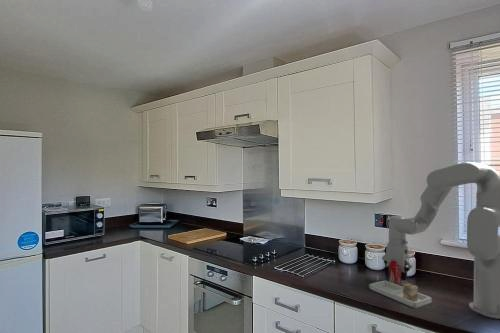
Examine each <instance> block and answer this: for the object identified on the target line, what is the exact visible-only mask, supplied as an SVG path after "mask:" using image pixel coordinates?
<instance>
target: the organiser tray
mask: <svg viewBox="0 0 500 333" xmlns="http://www.w3.org/2000/svg"><path fill="white" fill-rule="evenodd" d="M368 289H369V290H372V291H373V292H376V293H379V294H381V295H383V296H386V297H388V298H391V299H393V300H395V301H397V302H399V303H402V304H404V305H407V306H410V307H411V308H414V309H416V308H420V307H423V306H425V305H428V304H431V303H433V302H432V301H433V298H432V297H431V296H429V295H425V294H422V293H420V292H418V301H415V302H413V301H410V300H408V299H406V298H403V285H397V284H394V283H391V282H390V281H389V280H387V279H385V280H381V281H376V282H372V283H369V284H368Z"/></svg>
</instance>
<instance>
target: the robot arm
mask: <svg viewBox="0 0 500 333" xmlns="http://www.w3.org/2000/svg"><path fill="white" fill-rule="evenodd" d="M426 184H427V186H426V187H425V189H424V190H423V192H422V194H421V195H420V198H419V199H420V202H421V205H420V208H419V210H418V212H416V214H415V215H414V217H409V218H405V217H404V216H400V215H391V216H389V218H388V242H387V244H386V250H385V255H383V256H382V257H381V259H382V260H383V263H384V264H385V267H386V275H387V276H389V262H390V261H391V259H392V260H395V261H397V262H398V264H399V265H400V266H401V269H402V271H403V272H401V280H405V281H407V279H408V272H409V271H410V270H411V269H412V268H413V267H414V265H413V264H412V262H410V252H409V247H408V244H409V242H408V241H407V239H406V238H407V237H406V235H412V236H413V235H416V234H421V233H423V232H425V231H427V229H428V228H429V227H430V226H431V224H432V223H433V221H434V219H435V218H436V216H437V214H438V211H439V208H440V206H441V205H442V204H443V202H444V200H445V199H446V197H447V196H448V195H449V193H450V192H451V190H452V189H453V187H458V186H463V185H467V184H476V193H475V194H476V196H475V197H476V199H475V200H476V202H475V203H476V205H475V207H474V208H472V209H471V210H470V211H469V213H468V216H467V219H466V220H467V221H466V222H467V223H466V247H467V249H468V252H469V254H470V255H472V257H474V261H473V301H472V302H469V303H468V306H469V308H470V309H471V310H472V311H473V312H476V313H477V314H478V315H481V316H484V317H486V318H492V319H500V234H499V227H500V174H499V172H498V171H497V170H495V169H494V168H492V167H491V166H490V165H488V164H485V163H481V162H472V161H466V162H465V161H464V162H461V163H458V164H457V163H456V164H453V165H450V166H447V167H442V168H440V169H439V168H438V169H435V170H433V171H431V172H429V174H428V175H427V176H426Z"/></svg>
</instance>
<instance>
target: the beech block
mask: <svg viewBox="0 0 500 333" xmlns="http://www.w3.org/2000/svg"><path fill="white" fill-rule="evenodd" d="M402 287H403V298H406V299H408V300H410V301H413V302H415V301H418V293H419V287H418V285H415V284H412V283H404V284H403V285H402Z"/></svg>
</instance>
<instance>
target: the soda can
mask: <svg viewBox="0 0 500 333" xmlns="http://www.w3.org/2000/svg"><path fill="white" fill-rule="evenodd" d="M401 272H403V271H402V269H401V266H400V265H399V264H398V262H397V261H395V260H392V259H391V261H390V262H389V275H388V281H389V282H391V283H394V284H397V285H399V286H403V285H404V284H405V281H406V280H401Z"/></svg>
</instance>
